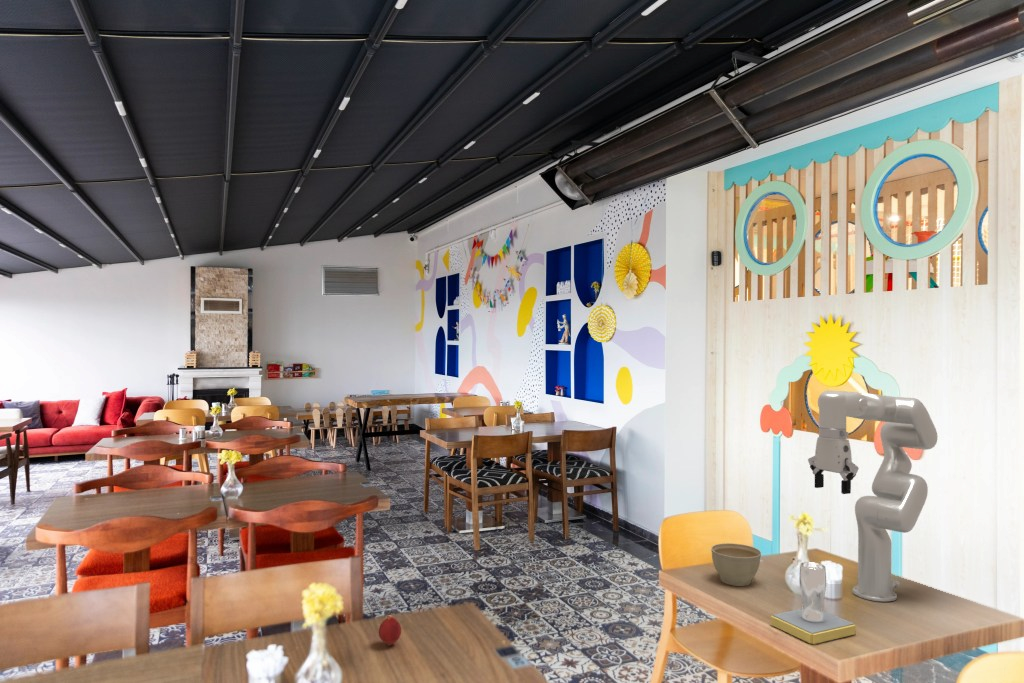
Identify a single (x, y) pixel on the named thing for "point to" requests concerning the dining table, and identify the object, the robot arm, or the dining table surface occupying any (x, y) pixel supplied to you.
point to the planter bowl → (736, 563)
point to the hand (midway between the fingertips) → (832, 490)
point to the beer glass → (812, 591)
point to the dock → (813, 626)
